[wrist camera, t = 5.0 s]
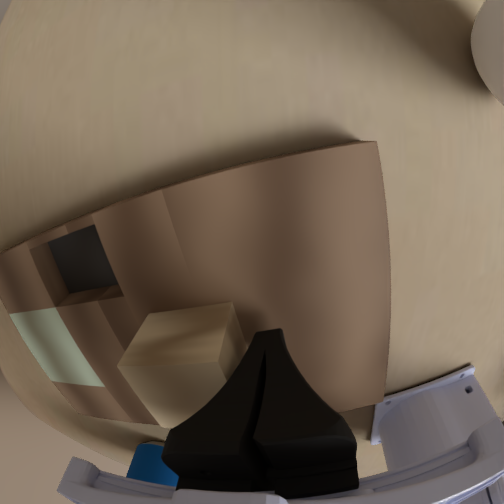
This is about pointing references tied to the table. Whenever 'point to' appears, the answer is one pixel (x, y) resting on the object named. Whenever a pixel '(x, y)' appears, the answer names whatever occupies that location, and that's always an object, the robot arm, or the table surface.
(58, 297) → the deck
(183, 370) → the block
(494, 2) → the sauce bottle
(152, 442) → the beverage can
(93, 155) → the table surface
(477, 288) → the table surface
